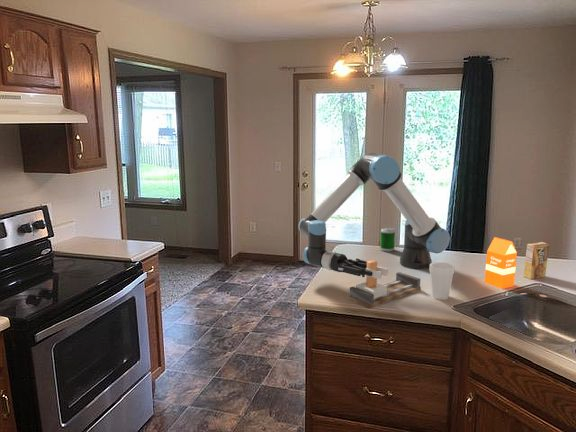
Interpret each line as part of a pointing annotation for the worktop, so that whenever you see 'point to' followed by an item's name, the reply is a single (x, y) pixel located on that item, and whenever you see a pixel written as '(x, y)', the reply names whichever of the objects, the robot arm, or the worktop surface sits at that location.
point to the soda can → (387, 239)
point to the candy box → (536, 260)
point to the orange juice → (500, 263)
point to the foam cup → (441, 279)
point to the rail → (394, 290)
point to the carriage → (372, 282)
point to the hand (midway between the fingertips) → (383, 273)
